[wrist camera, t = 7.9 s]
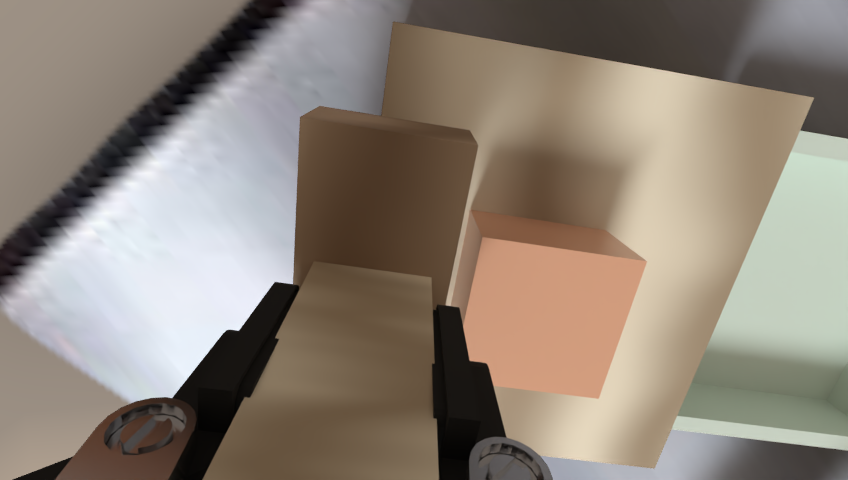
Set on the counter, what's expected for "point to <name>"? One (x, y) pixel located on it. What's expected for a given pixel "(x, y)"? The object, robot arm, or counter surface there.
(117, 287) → the counter surface
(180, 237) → the counter surface
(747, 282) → the box
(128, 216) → the counter surface
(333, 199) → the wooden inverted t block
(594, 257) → the salmon pink brick
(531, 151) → the birch block
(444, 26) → the counter surface
